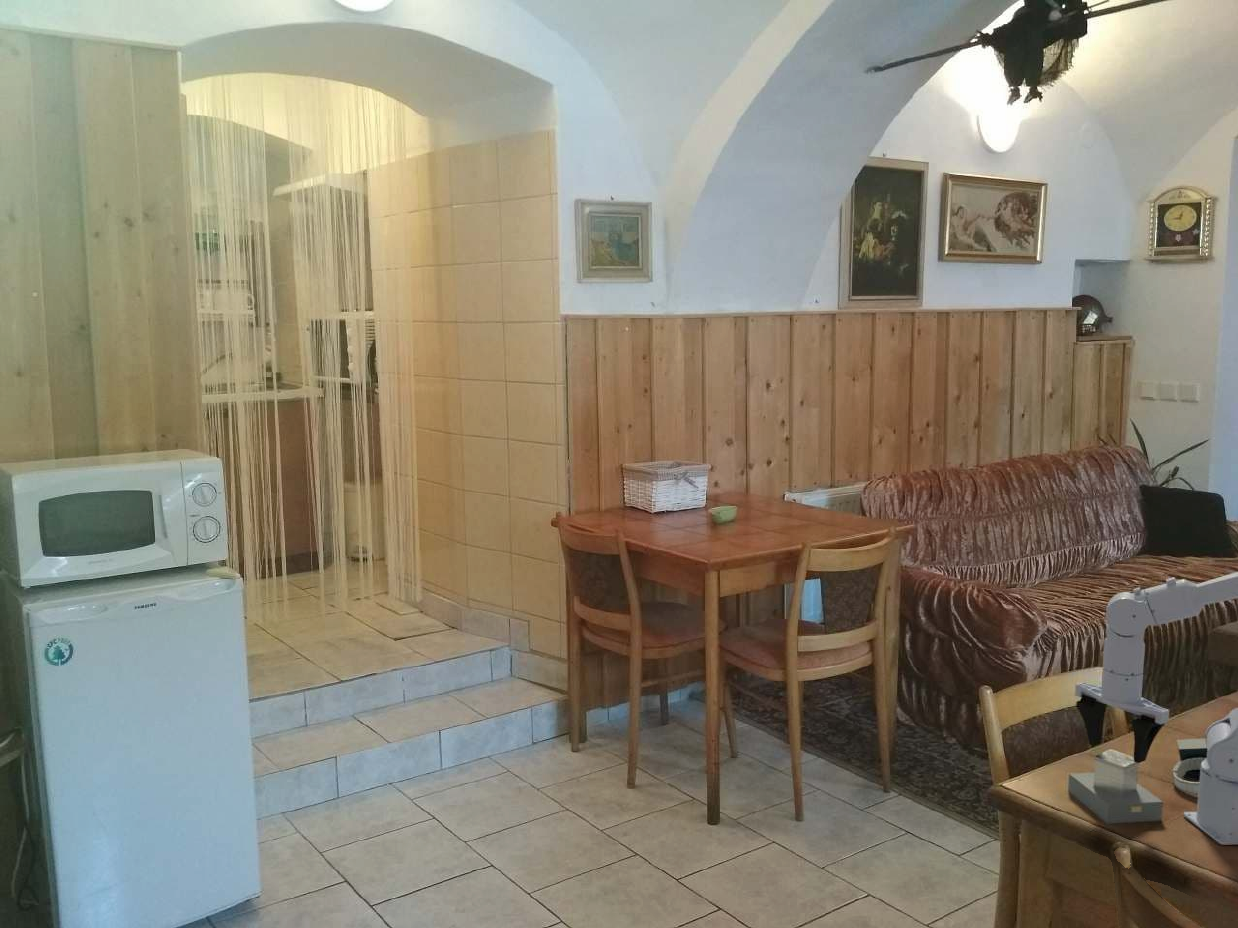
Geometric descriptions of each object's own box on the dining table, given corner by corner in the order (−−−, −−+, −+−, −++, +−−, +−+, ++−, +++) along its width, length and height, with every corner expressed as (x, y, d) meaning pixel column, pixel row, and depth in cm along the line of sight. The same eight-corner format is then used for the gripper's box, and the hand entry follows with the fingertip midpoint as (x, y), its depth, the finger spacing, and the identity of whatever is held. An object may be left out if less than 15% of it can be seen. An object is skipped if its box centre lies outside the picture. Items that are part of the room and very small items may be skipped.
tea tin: (1137, 789, 164) (1139, 759, 164) (1121, 797, 162) (1124, 766, 161) (1108, 778, 168) (1110, 748, 167) (1092, 785, 165) (1094, 756, 165)
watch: (1222, 766, 176) (1234, 803, 167) (1170, 768, 180) (1178, 804, 170) (1218, 737, 175) (1229, 772, 166) (1165, 739, 179) (1172, 774, 169)
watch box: (1162, 823, 160) (1164, 802, 160) (1108, 826, 159) (1109, 805, 159) (1119, 791, 171) (1120, 771, 171) (1067, 793, 170) (1069, 773, 170)
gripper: (1182, 678, 158) (1176, 762, 160) (1095, 652, 170) (1090, 731, 172) (1156, 687, 155) (1149, 773, 156) (1069, 660, 167) (1064, 740, 169)
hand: (1116, 752), depth 164 cm, fingers open, 7 cm apart
